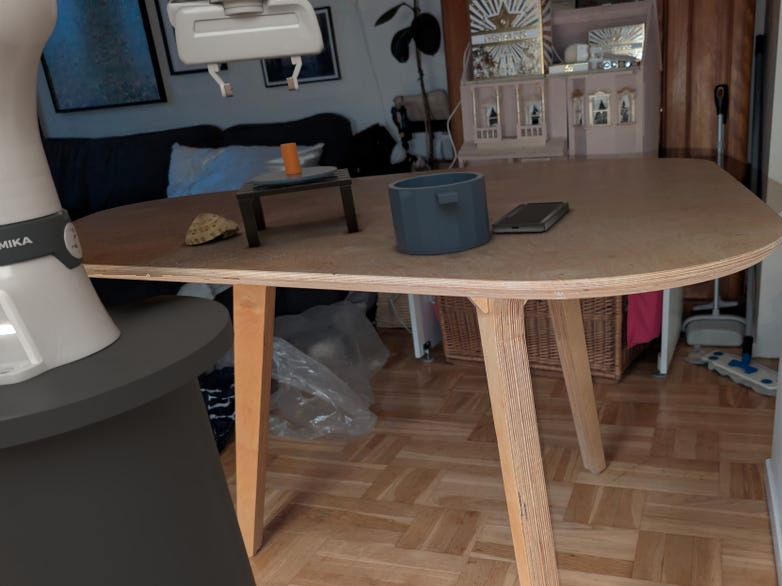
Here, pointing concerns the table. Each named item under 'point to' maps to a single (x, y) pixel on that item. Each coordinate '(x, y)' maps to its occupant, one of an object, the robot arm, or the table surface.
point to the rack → (253, 192)
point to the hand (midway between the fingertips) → (261, 93)
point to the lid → (292, 170)
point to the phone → (530, 217)
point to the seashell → (209, 228)
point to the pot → (440, 212)
